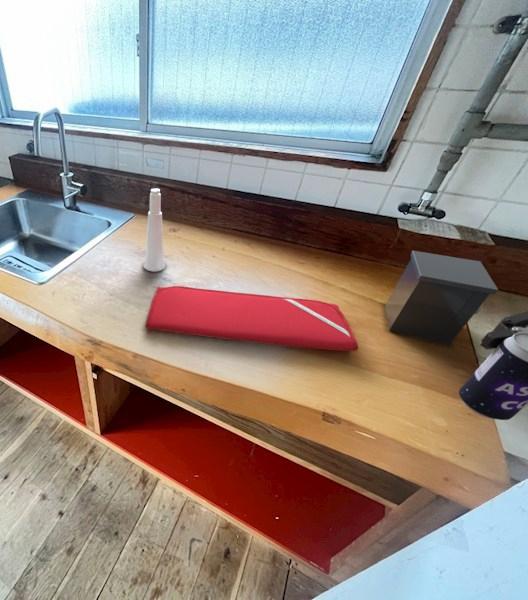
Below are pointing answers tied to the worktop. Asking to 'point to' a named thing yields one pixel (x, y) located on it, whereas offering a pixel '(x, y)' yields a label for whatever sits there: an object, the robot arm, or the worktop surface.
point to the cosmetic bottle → (154, 234)
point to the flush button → (478, 309)
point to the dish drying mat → (251, 318)
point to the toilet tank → (437, 296)
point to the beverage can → (500, 381)
